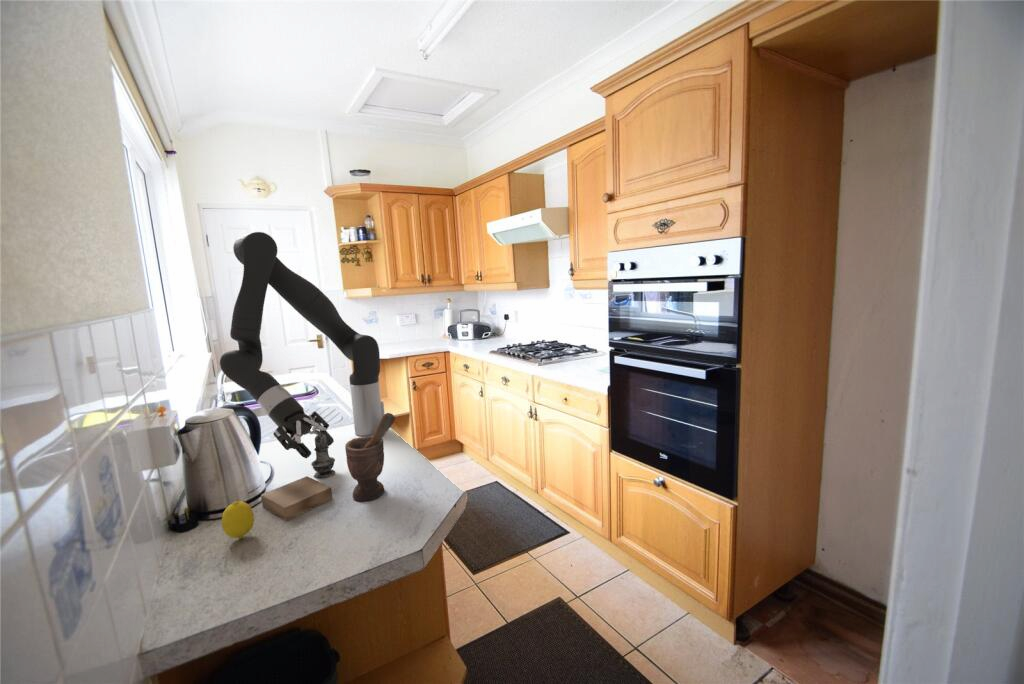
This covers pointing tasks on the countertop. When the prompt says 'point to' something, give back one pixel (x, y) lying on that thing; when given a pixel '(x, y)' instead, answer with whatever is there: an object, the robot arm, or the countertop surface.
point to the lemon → (237, 519)
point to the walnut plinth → (296, 497)
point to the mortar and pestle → (368, 461)
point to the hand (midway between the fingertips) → (320, 449)
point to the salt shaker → (322, 458)
